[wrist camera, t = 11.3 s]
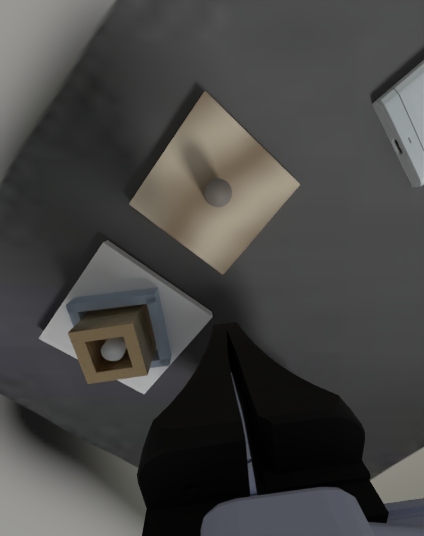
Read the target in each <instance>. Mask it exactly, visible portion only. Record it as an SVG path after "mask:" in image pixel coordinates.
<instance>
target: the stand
mask: <svg viewBox="0 0 424 536" xmlns="http://www.w3.org/2000/svg"><path fill="white" fill-rule="evenodd" d="M299 185H300V184H299V183H298V182H297V181H296V180H295V179H294V178H293V177H292V176H291V175H290V174H289V173H288V172H287V171H286V170H285V169H284V168H283V167H282V166H281V165H280V164H279V163H278V162H277V161H276V160H275V159H274V158H273V157H272V156H271V155H270V154H269V153H268V152H267V151H266V150H265V149H264V148H263V147H262V146H261V145H260V144H259V143H258V142H257V141H256V140H254V139H253V138H252V137H251V136H250V135H249V134H248V133H247V132H246V131H245V130H244V129H243V128H242V127H241V126H240V125H239V124H238V123H237V122H236V121H235V120H234V119H233V118H232V117H231V116H230V115H229V114H228V113H227V112H226V111H225V110H224V109H223V108H222V107H221V106H220V105H219V104H218V103H217V102H216V101H215V100H214V99H213V98H212V97H211V96H210V95H209V94H208V93H207V92H206V91H204V93H203V94H202V96H201V97H200V99H199V100H198V102H197V103H196V105H195V106H194V108H193V109H192V111H191V112H190V114H189V115H188V117H187V118H186V119H185V121H184V122H183V124H182V125H181V127H180V128H179V130H178V131H177V133H176V134H175V136H174V137H173V139H172V140H171V142H170V143H169V145H168V146H167V148H166V149H165V151H164V152H163V154H162V155H161V157H160V158H159V160H158V161H157V163H156V164H155V166H154V167H153V169H152V170H151V172H150V173H149V175H148V176H147V178H146V179H145V181H144V182H143V184H142V185H141V187H140V188H139V190H138V191H137V193H136V194H135V196H134V197H133V199H132V200H131V201H130V203H129V205H131V206H132V207H133V208H135V209H136V210H137V211H139V212H140V213H141V214H143V215H144V216H145V217H147V218H148V219H149V220H151V221H152V222H153V223H155V224H156V225H157V226H159V227H160V228H161V229H163V230H164V231H165V232H167V233H168V234H169V235H171V236H172V237H173V238H175V239H176V240H177V241H179V242H180V243H181V244H183V245H184V246H185V247H187V248H188V249H189V250H190V251H192V252H193V253H194V254H196V255H197V256H198V257H200V258H201V259H202V260H204V261H205V262H206V263H208V264H209V265H210V266H212V267H213V268H214V269H216V270H217V271H218V272H220V273H221V274H222V275H223V274H224V273H225V272H226V271H227V270H228V269H229V267H230V266H231V265H232V264H233V263H234V262H235V260H236V259H237V258H238V257H239V256H240V254H241V253H242V252H243V251H244V250H245V249H246V247H247V246H248V245H249V244H250V243H251V242H252V240H253V239H254V238H255V237H256V236H257V235H258V233H259V232H260V231H261V230H262V229H263V228H264V226H265V225H266V224H267V223H268V222H269V221H270V219H271V218H272V217H273V216H274V215H275V213H276V212H277V211H278V210H279V209H280V208H281V206H282V205H283V204H284V203H285V202H286V201H287V199H288V198H289V197H290V196H291V195H292V194H293V192H294V191H295V190H296V189H297V188H298V187H299Z"/></svg>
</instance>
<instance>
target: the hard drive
mask: <svg viewBox="0 0 424 536" xmlns="http://www.w3.org/2000/svg"><path fill="white" fill-rule="evenodd" d="M372 105H373V107H374V109H375V111H376V113H377V115H378V117H379V119H380V122H381V124H382V126H383V128H384V130H385V132H386V134H387V136H388V138H389V140H390V142H391V144H392V146H393V148H394V150H395V152H396V154H397V156H398V158H399V160H400V162H401V165H402V167H403V169H404V171H405V173H406V175H407V177H408V179H409V181H410V183H411V185H412V187H420V186H422V185H423V184H424V60H423V61H422V62H420V63H419V64H418V65H417V66H416V67H415V68H413V69H412V70H411V71H410V72H409V73H408V74H406V75H405V76H404V77H403V78H402V79H401V80H399V81H398V82H397V83H396V84H395V85H394V86H392V87H391V88H390V89H389V90H388V91H387V92H385V93H384V94H383V95H382V96H381V97H379V98H378V99H377V100H376V101H375V102H374V103H373V104H372Z"/></svg>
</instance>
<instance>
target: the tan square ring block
mask: <svg viewBox="0 0 424 536" xmlns="http://www.w3.org/2000/svg"><path fill="white" fill-rule="evenodd" d="M68 335H69V338H70V340H71V343H72V345H73V348H74V350H75V353H76V355H77V358H78V361H79V363H80V366H81V368H82V371H83V373H84V376H85V378H86V381H87V383H88V384H91V383H98V382H105V381H112V380H119V379H126V378H133V377H139V376H146V375H148V372H149V369H150V366H151V362H152V359H153V355H154V352H155V349H156V341H155V336H154V332H153V328H152V323H151V320H150V316H149V312H148V308H147V304H140V305H132V306H124V307H116V308H108V309H99V310H91V311H89V312H88V313H87V314H86V315H85V316H84V317H83V318H82V319H81V320H80V321H79V322H78V323H77V324H76V325H75V326H74V327H73V328H72V329H71V330H70V331H69V332H68ZM117 337H124V340H125V344H126V347H127V348H126V351H125V353H124V355H123V357H122V358H121V359H120V360H117V361H109V360H107V359H105V358H104V357H103V356H102V354H101V348H102V347H103V345H104V344H105V342H106V340H107V339H110V338H117Z"/></svg>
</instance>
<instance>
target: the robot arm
mask: <svg viewBox="0 0 424 536" xmlns="http://www.w3.org/2000/svg"><path fill="white" fill-rule="evenodd" d="M364 442H365V431H364V429H363V426H362V424H361V423H360V422H359V420H358V419H357V417H356V416H355V415H354V413H353V412H352V411H351V409H350V408H349V407H348V406H347V405H346V404H345V402H344V401H343V400H342V399H341V398H340V397H339V396H338V395H336V394H334V393H332V392H329V391H327V390H325V389H322V388H320V387H318V386H315V385H313V384H311V383H309V382H307V381H306V380H304V379H302V378H300V377H298V376H296V375H295V374H293V373H291V372H290V371H288V370H287V369H285V368H283V367H282V366H280V365H279V364H278V363H276V362H275V361H274V360H272V359H271V358H270V357H269V356H267V355H266V354H265V353H264V352H263V351H262V350H261V349H260V348H258V347H257V346H256V345H255V344H254V342H253V341H252V340H251V339H250V338H249V337H248V336H247V335H246V334H245V333H244V331H243V330H242V329H241V328H240V326H239V325H238V324H237V323H236V322H234V323H226V324H218V325H214V326H213V328H212V334H211V338H210V341H209V343H208V346H207V349H206V351H205V353H204V355H203V358H202V360H201V362H200V364H199V365H198V367H197V369H196V371H195V372H194V374H193V375H192V377H191V378H190V380H189V381H188V383H187V384H186V386H185V387H184V388H183V390H182V391H181V392H180V393H179V394H178V396H177V397H176V398H175V399H174V400H173V401H172V403H171V404H170V405H169V406H168V407H167V408H166V409H165V410H164V411H163V412H162V413H161V414H160V415H159V416H158V417H157V418H155V419H154V420H153V422H152V425H151V427H150V430H149V432H148V435H147V438H146V441H145V444H144V447H143V450H142V455H141V459H140V464H139V468H138V473H137V479H138V484H139V487H140V490H141V493H142V496H143V499H144V502H145V505H146V508H147V510H146V516H145V522H144V527H143V533H142V536H424V498H423V499H416V500H408V501H401V502H394V503H387V504H383V502H382V500H381V499H380V497H379V495H378V494H377V492H376V490H375V489H374V487H373V485H372V484H371V482H370V480H369V479H370V473H369V471H368V469H367V468H366V466H365V465H364V463H363V461H362V455H363V449H364Z"/></svg>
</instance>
